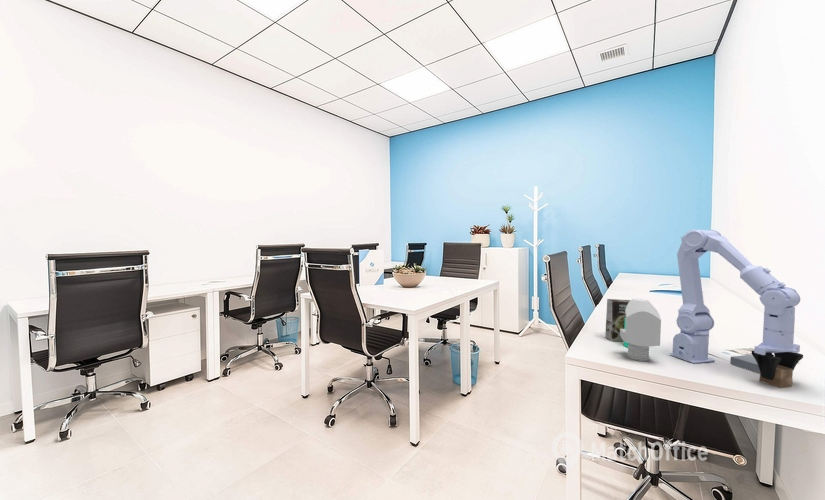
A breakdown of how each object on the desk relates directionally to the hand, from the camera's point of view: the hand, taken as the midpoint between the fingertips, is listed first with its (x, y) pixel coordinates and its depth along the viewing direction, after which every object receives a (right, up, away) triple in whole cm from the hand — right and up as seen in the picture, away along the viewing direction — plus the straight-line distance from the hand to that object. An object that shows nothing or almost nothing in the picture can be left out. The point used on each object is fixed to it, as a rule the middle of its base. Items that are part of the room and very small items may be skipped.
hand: (775, 377), depth 91 cm
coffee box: (-19, 0, +39) cm, 43 cm away
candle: (-19, -1, +30) cm, 36 cm away
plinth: (+7, -2, +11) cm, 13 cm away
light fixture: (-26, -1, +19) cm, 32 cm away
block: (0, -2, 0) cm, 2 cm away
